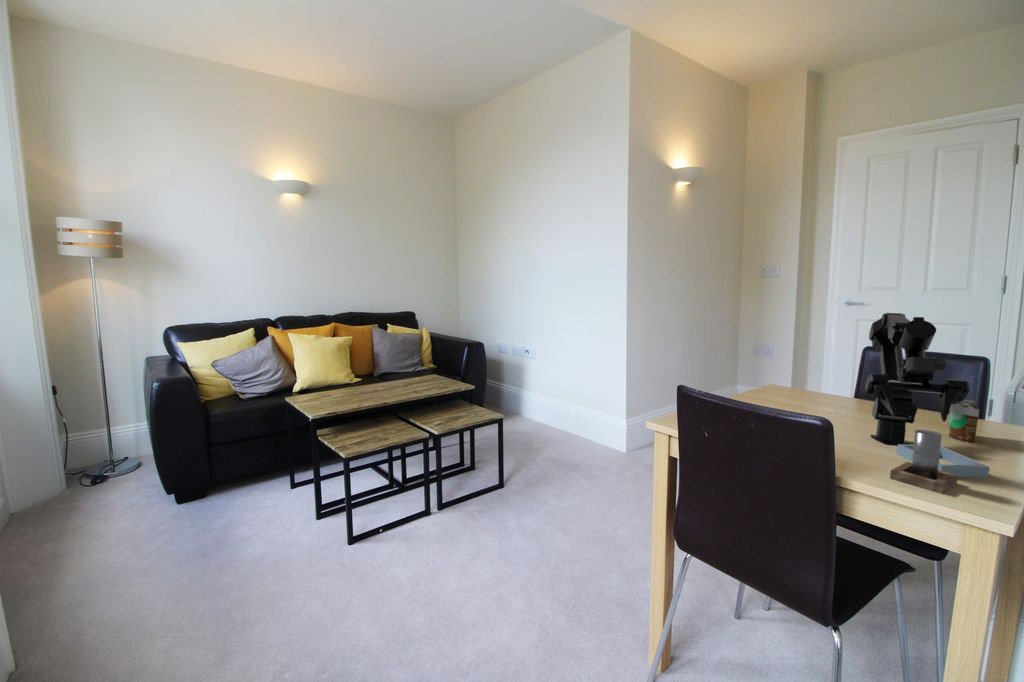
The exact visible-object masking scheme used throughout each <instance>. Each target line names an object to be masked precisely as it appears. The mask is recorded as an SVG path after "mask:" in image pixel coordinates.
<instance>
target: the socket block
mask: <svg viewBox="0 0 1024 682" xmlns="http://www.w3.org/2000/svg"><path fill="white" fill-rule="evenodd" d="M911 466H912V462H911V461H910V462H909V461H905V462H904V463H901V464H899V466H898V465H897V466H896V467H894V468H892V469H891V470H890V477H889V479H890V480H893V481H896V482H900V483H904V484H906V485H910V486H913V487H916V488H920V489H924V490H927V491H930V492H935V493H937V494H941V495H943V493H945V492H946V491H948V490H949V489H952V488H953V487H954V486H956V485H957V482H958V478H959V477H958V475H956V474H952V473H948V472H945V471H941V470H938V472H937V480H933V479H930V478H926V477H922V476H919V475H915V474H912V473H911Z"/></svg>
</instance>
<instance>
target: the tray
mask: <svg viewBox="0 0 1024 682" xmlns="http://www.w3.org/2000/svg"><path fill="white" fill-rule="evenodd" d="M896 447H897V448H896V455H898V456H900V457H902V458H903V459H906V460H908V462H909V461H910V463H912V457H913V448H914V444H909V445H907V444H897V446H896ZM939 459H943V460H945V461H947V462H949V463H952V464H943V463H941V462H939V464H938V470H941V471H945V472H948V473H952V474H956V475H958V477H957V478H978V479H979V478H983V479H985V478H986V479H988V478H989V474H990V473H989V472H990V466H988V465H986V464H984V463H981V462H979V461H977V460H975V459H972V458H969V457H967V456H965V455H962V454H960V453H959V452H955V451H953V450H952V449H949V448H947V447H944V446H942V445H941V447H940V456H939Z"/></svg>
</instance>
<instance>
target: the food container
mask: <svg viewBox="0 0 1024 682" xmlns="http://www.w3.org/2000/svg"><path fill="white" fill-rule="evenodd" d="M975 403H976V400H969V399H964V400H963V401H962V402H957V403H956V404H951V406H950V410H949V427H948V429H949V430H948V431H949V432H948V436H949V437H950V439H951V438H952V439H953V440H956V441H959V442H963V443H967V442H968V444H973V443H974V444H975V442H976V435H977V428H978V420H979V417H980V416H979V414H980V409H979V408H977V406H976V404H975Z"/></svg>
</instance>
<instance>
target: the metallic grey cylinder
mask: <svg viewBox="0 0 1024 682" xmlns="http://www.w3.org/2000/svg"><path fill="white" fill-rule="evenodd" d="M942 438H943V435H942V433H940V432H937V431H933V430H927V429H917V430H916V429H915V432H914V441H913V445H914V448H913V457H912V462H911V463H912V466H911V473H912V474H915V475H919V476H922V477H926V478H930V479H933V480H937V472H938V464H939V463H940V462H939V461H940V457H939V456H940V447H941V446H942Z"/></svg>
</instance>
